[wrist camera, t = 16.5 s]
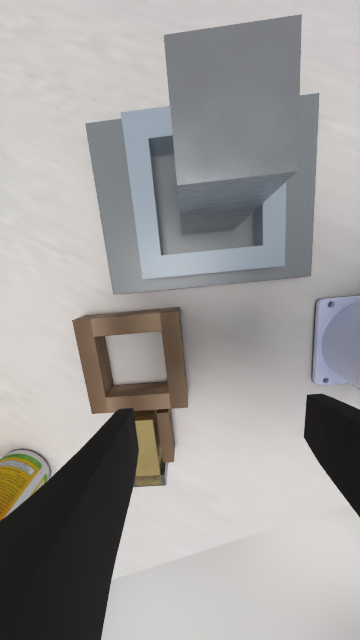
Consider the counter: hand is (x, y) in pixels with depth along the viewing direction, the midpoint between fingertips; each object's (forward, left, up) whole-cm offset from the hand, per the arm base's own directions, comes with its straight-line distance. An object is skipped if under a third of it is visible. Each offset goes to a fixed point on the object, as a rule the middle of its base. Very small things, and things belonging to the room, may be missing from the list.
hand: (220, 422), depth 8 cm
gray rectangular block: (-1, -11, -9) cm, 15 cm away
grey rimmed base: (-1, -11, -10) cm, 15 cm away
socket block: (+6, +4, -10) cm, 13 cm away
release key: (+6, +9, -10) cm, 15 cm away
